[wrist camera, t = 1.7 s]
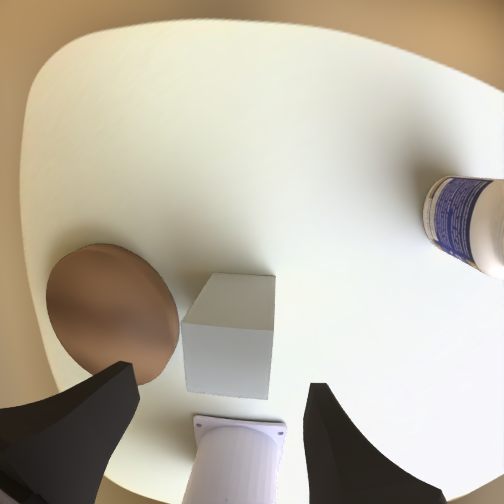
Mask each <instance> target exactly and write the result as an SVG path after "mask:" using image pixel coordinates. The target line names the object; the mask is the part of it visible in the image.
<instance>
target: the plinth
mask: <svg viewBox="0 0 504 504" xmlns="http://www.w3.org/2000/svg"><path fill="white" fill-rule="evenodd" d="M46 304H47V310H48V315H49V319H50V322H51V325H52V327H53V330H54V332H55V334H56V336H57V338H58V339H59V341H60V343H61V344H62V346H63V347H64V349H65V350H66V351H67V353H68V354H69V355H70V356H71V357H72V358H73V359H74V360H75V361H76V362H77V363H78V364H79V365H80V366H81V367H82V368H84V369H85V370H86V371H88V372H89V373H91V374H92V375H95V374H97V373H99V372H100V371H102V370H104V369H105V368H107V367H109V366H111V365H112V364H114V363H116V362H118V361H125V362H129V363H132V364H133V369H134V374H135V378H136V383H137V386H138V385H143V384H145V383H148V382H150V381H152V380H153V379H155V378H156V377H157V376H158V375H160V373H161V372H162V371H163V370H164V368H165V366H166V365H167V363H168V361H169V359H170V358H171V356H172V354H173V352H174V350H175V348H176V346H177V342H178V338H179V317H178V312H177V308H176V305H175V302H174V300H173V297H172V295H171V293H170V291H169V289H168V287H167V286H166V284H165V283H164V281H163V280H162V278H161V277H160V276H159V275H158V273H157V272H156V271H155V270H154V269H153V268H152V267H151V266H150V265H149V264H148V263H147V262H146V261H144V260H143V259H142V258H141V257H139V256H138V255H136V254H134V253H133V252H131V251H129V250H127V249H125V248H122V247H119V246H116V245H111V244H94V245H90V246H87V247H84V248H82V249H80V250H77V251H75V252H73V253H71V254H68V255H67V256H65V257H64V258H62V259H61V260H60V261H59V262H58V263H57V264H56V265H55V267H54V268H53V270H52V272H51V274H50V276H49V280H48V283H47V289H46Z"/></svg>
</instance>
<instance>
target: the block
mask: <svg viewBox="0 0 504 504" xmlns="http://www.w3.org/2000/svg"><path fill="white" fill-rule="evenodd" d="M275 278H276V276H263V275H247V274H231V273H216V272H213V273H212V275H211V276H210V278H209V280H208V281H207V283H206V284H205V286H204V287H203V289H202V290H201V292H200V293H199V295H198V297H197V298H196V300H195V301H194V303H193V304H192V306H191V307H190V309H189V311H188V312H187V314H186V315H185V317H184V318H183V320H182V321H181V333H182V345H183V356H184V367H185V376H186V385H187V391H190V392H197V393H204V394H212V395H220V396H229V397H238V398H250V399H263V400H268V391H269V380H270V369H271V358H272V346H273V334H274V310H275Z"/></svg>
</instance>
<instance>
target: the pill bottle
mask: <svg viewBox="0 0 504 504" xmlns="http://www.w3.org/2000/svg"><path fill="white" fill-rule="evenodd" d="M423 222H424V227H425V231H426V233H427V235H428V237H429V239H430V240H431V242H432V243H433V244H434V245H435V246H436V247H437V248H439V249H440V250H442V251H444V252H446V253H448V254H450V255H452V256H454V257H455V258H457V259H459V260H461V261H463V262H465V263H467V264H468V265H470V266H472V267H474V268H475V269H477V270H479V271H481V272H482V273H484V274H486V275H488V276H490V277H494V278H504V180H502V179H490V178H476V177H464V176H446V177H443V178H441V179H440V180H438V181H437V182H436V183H435V184H434V185H433V186H432V187H431V189H430V190H429V192H428V194H427V196H426V199H425V203H424V208H423Z"/></svg>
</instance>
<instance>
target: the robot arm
mask: <svg viewBox="0 0 504 504" xmlns="http://www.w3.org/2000/svg"><path fill="white" fill-rule="evenodd" d="M139 400H140V396H139V392H138V387H137V383H136V378H135V374H134V369H133V364H132V363H129V362H125V361H118V362H116V363H114V364H112V365H111V366H109V367H107V368H105V369H104V370H102V371H100V372H99V373H97V374H95V375H94V376H92V377H90V378H88V379H87V380H85V381H83V382H81V383H79V384H77V385H75V386H73V387H71V388H69V389H67V390H65V391H63V392H61V393H59V394H57V395H54V396H52V397H49V398H46V399H44V400H40V401H37V402H34V403H29V404H26V405H22V406H16V407H10V408H3V409H0V504H94V503H95V499H96V495H97V492H98V489H99V486H100V483H101V480H102V477H103V474H104V472H105V469H106V467H107V464H108V462H109V459H110V457H111V455H112V453H113V452H114V450H115V448H116V446H117V445H118V443H119V441H120V439H121V438H122V436H123V434H124V432H125V431H126V429H127V427H128V425H129V424H130V422H131V420H132V418H133V416H134V414H135V411H136V409H137V406H138V403H139ZM198 423H199V424H198ZM193 424H194V431H195V438H196V445H197V454H196V457H195V461H194V464H193V467H192V471H191V474H190V477H189V481H188V484H187V488H186V491H185V494H184V498H183V501H182V504H276V500H277V478H278V473H279V468H280V464H281V459H282V454H283V448H284V443H285V438H286V432H287V425H286V424H283V423H267V422H253V421H241V420H231V419H223V418H215V417H207V416H200V415H196V416H194V419H193ZM280 431H281V432H280ZM303 440H304V449H305V456H306V464H307V472H308V480H309V493H310V494H309V504H447V502H446V499H445V497H444V495H443V493H442V491H441V489H438V488H436V487H434V486H432V485H430V484H427V483H425V482H423V481H421V480H419V479H417V478H416V477H414V476H412V475H411V474H409V473H407V472H406V471H404V470H403V469H401V468H400V467H399V466H397V465H396V464H394V463H393V462H392V461H390V460H389V459H388V458H386V457H385V456H384V455H383V454H382V453H381V452H380V451H378V450H377V449H376V448H375V447H374V446H373V445H372V444H371V443H370V442H369V441H368V440H367V439H366V438H365V436H364V435H363V434H362V433H361V432H360V431H359V429H358V428H357V427H356V426H355V425H354V423H353V422H352V421H351V419H350V418H349V417H348V415H347V414H346V413H345V411H344V410H343V408H342V407H341V405H340V404H339V402H338V401H337V399H336V398H335V396H334V394H333V393H332V391H331V389H330V388H329V386H328V385H327V384H326V383H310V388H309V393H308V398H307V403H306V408H305V413H304V417H303Z"/></svg>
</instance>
